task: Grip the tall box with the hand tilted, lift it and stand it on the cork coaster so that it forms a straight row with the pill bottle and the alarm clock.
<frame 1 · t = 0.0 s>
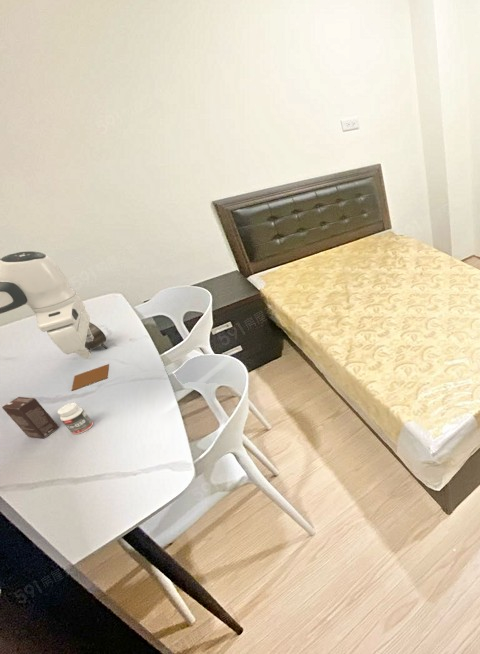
hand: (88, 348, 112), 23 cm above the table, tool pointing down, fingers open, 8 cm apart
box: (44, 432, 116), on the table
alarm clock: (95, 349, 150), on the table
pill bottle: (83, 428, 117), on the table
coaster: (91, 377, 136), on the table
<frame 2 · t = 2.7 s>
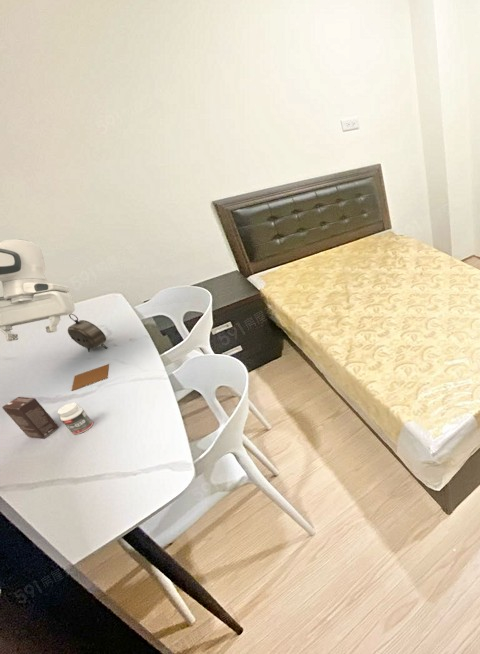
hand: (32, 336, 118), 23 cm above the table, tool tilted 40°, fingers open, 8 cm apart
nothing on the table moved.
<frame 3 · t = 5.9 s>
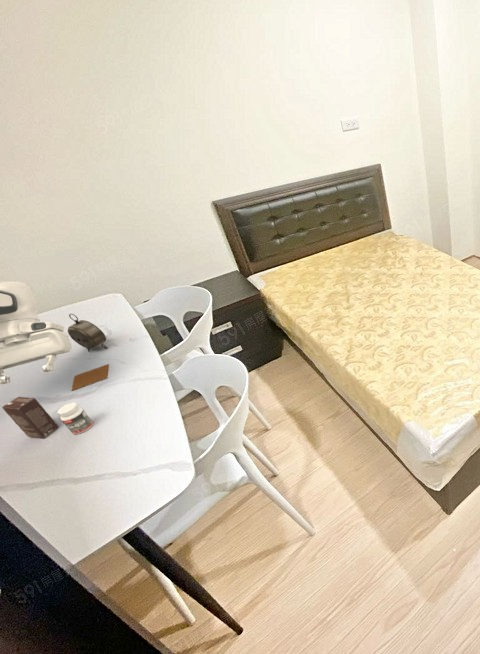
hand: (26, 377, 116), 14 cm above the table, tool tilted 45°, fingers open, 8 cm apart
nothing on the table moved.
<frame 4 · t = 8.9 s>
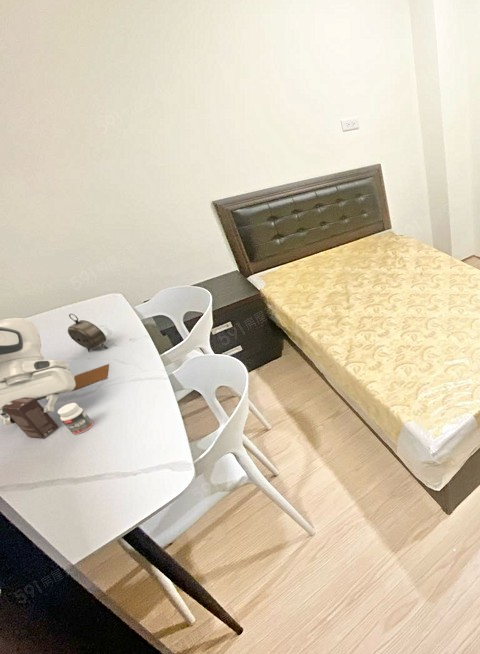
hand: (29, 418, 113), 6 cm above the table, tool tilted 45°, fingers closed on box, 7 cm apart
box: (44, 432, 116), on the table, touching gripper
everything else where it was.
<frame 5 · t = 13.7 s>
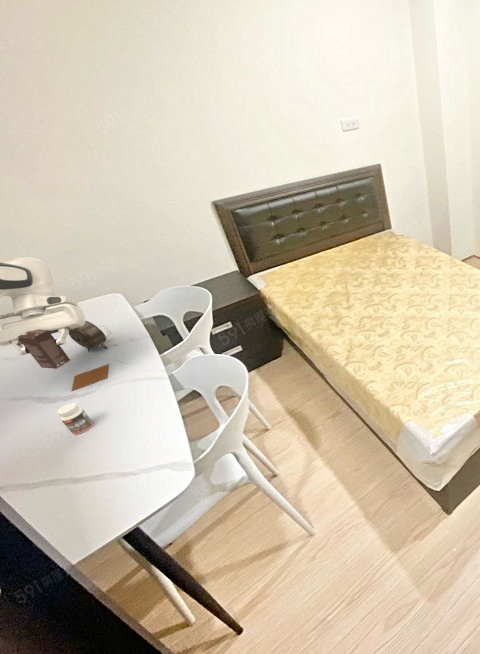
hand: (43, 349, 120), 19 cm above the table, tool tilted 45°, fingers closed on box, 7 cm apart
box: (57, 364, 124), point 12 cm above the table, touching gripper
everything else where it was.
when the fingers open (7 cm above the table, at t = 18.4 s): box stays where it is, resting on coaster.
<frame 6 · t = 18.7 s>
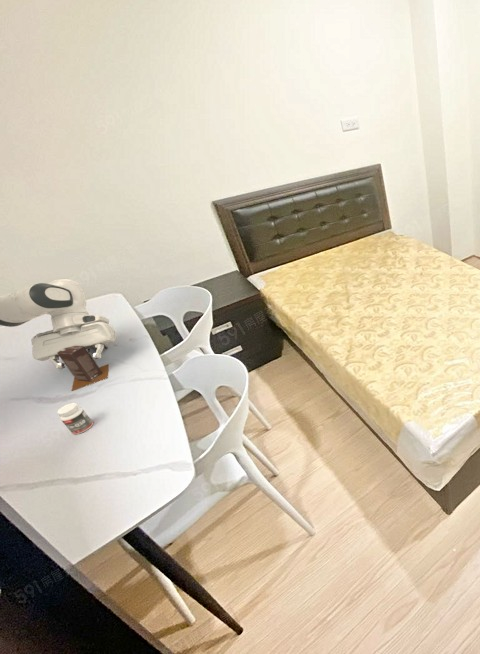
hand: (79, 363, 132), 7 cm above the table, tool tilted 45°, fingers open, 8 cm apart
box: (90, 377, 136), resting on coaster
everything else where it was.
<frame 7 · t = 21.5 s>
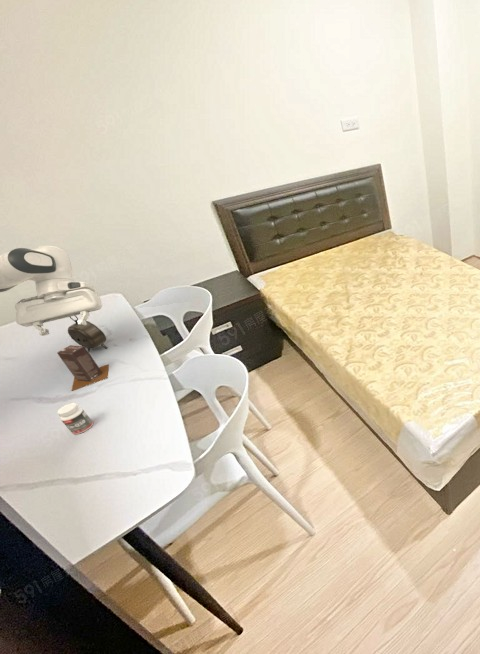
hand: (63, 330, 131), 18 cm above the table, tool tilted 45°, fingers open, 8 cm apart
nothing on the table moved.
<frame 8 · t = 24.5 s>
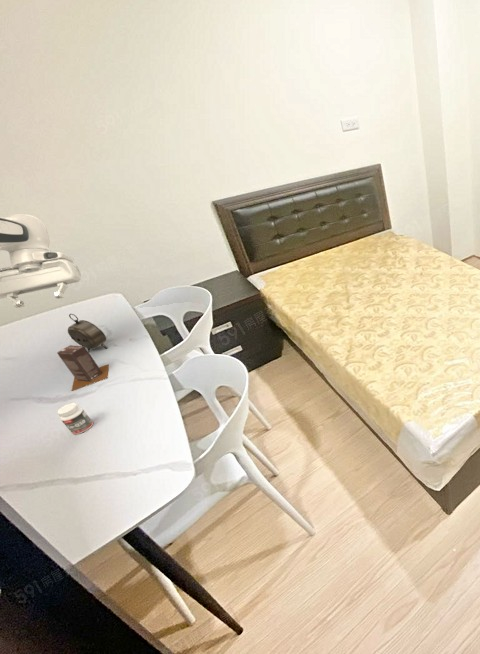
hand: (39, 302, 124), 29 cm above the table, tool tilted 45°, fingers open, 8 cm apart
nothing on the table moved.
at the end: box 0.1 cm off-centre on the coaster, point 0.1 cm above the coaster's base; box tilted 0°; the gripper is holding nothing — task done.
